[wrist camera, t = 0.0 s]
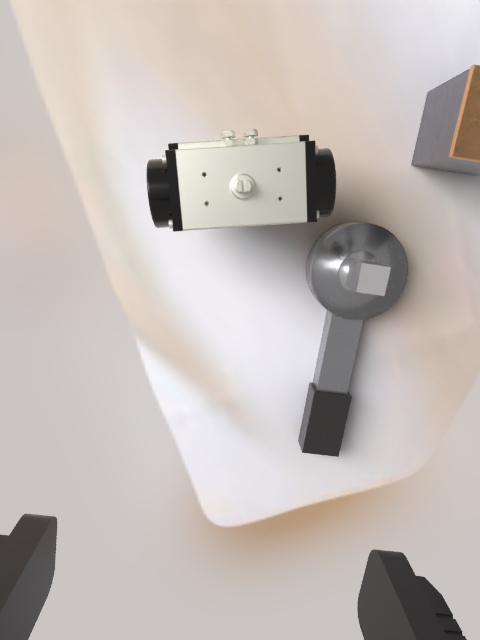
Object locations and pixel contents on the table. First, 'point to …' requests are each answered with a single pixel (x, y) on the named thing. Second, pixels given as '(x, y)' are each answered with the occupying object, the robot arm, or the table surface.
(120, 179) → the table surface
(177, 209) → the pneumatic valve
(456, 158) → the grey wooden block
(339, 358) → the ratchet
